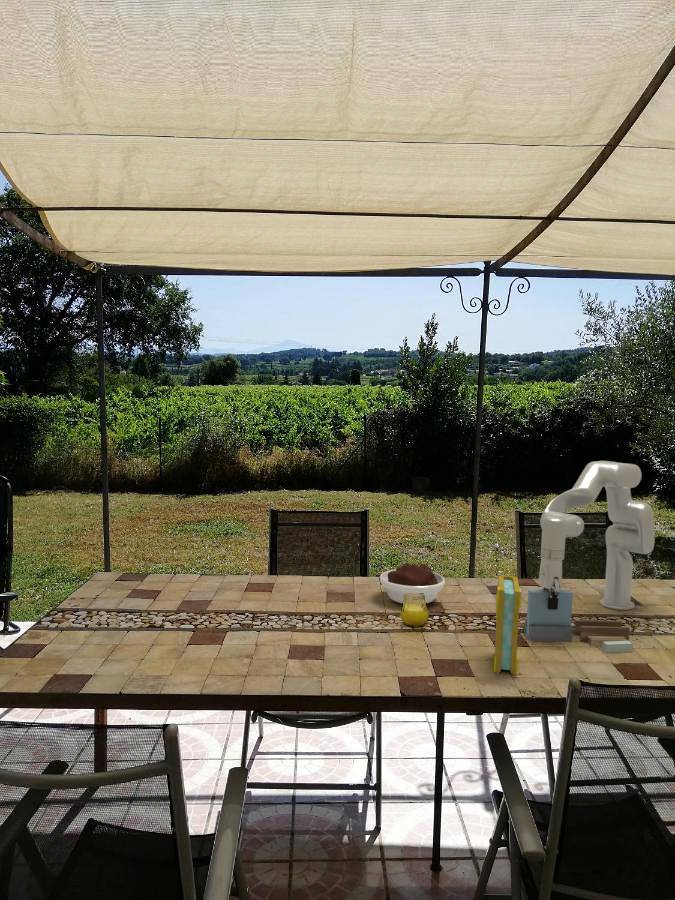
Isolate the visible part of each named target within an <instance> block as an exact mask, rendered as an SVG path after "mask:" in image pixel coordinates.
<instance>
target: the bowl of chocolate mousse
mask: <svg viewBox="0 0 675 900" xmlns="http://www.w3.org/2000/svg"><path fill="white" fill-rule="evenodd" d="M379 582H380V584H381V585H382V587H383V588H384V590H385V591H386V593H387V596H388V598H389V599H391V600H392V601H393V602H396V603H398V604H402V603H403V595H404V594H406V593H424V595H425V600H426V603H427V604H429V603H430V604H431V602H434V600H435V598H436V597H437V595H438V594H439V592H440V591H441V590H442V589H443V588H444V586H445V585H446V584H445V583H446V580H445V578H444V576H442V575H441V574H439V573H437V572H434V571H432V569H431V568H430V566H428V564H425V563H423V564H420V565H418V564H417V565H416V564H411V563H409V562H405V563H403V564H401V566H397V567H396V568H395V569H391V570H386V571H384V572H382V573H381V574H380V576H379Z"/></svg>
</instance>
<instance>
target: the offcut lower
mask: <svg viewBox="0 0 675 900" xmlns="http://www.w3.org/2000/svg"><path fill="white" fill-rule="evenodd" d="M606 641H628V640H627V639H625V638H624V637H621V636H588V639H587V642H586V643H587V644H588V645H589V646H590V647H591V648H593V646H596V647H598V648H602V644H603V642H606Z"/></svg>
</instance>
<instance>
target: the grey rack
mask: <svg viewBox="0 0 675 900" xmlns="http://www.w3.org/2000/svg"><path fill="white" fill-rule="evenodd" d="M526 626H527V618H525V619H524V631H523V632H524V635H526ZM573 633H574V626H572V625H571V626H548V625H530V634H529V639H528V640H529V641H530V642H532V640H533V642H569V643H570V642H573Z"/></svg>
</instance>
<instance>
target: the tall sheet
mask: <svg viewBox="0 0 675 900" xmlns="http://www.w3.org/2000/svg"><path fill="white" fill-rule="evenodd" d="M527 591H528V592H527V613H526V619H527V626H526V634H525V636H526V638H527V639H528V638H529V634H530V625H548V626H572V612H573V610H572V608H573V596H574V594H573V592H572V591H571V590H570V589H567V590H565V589H560V592H559V598H558V609H557V610H549V609H548V597H549V590H542V589H528V590H527ZM552 592H554V590H552Z"/></svg>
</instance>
